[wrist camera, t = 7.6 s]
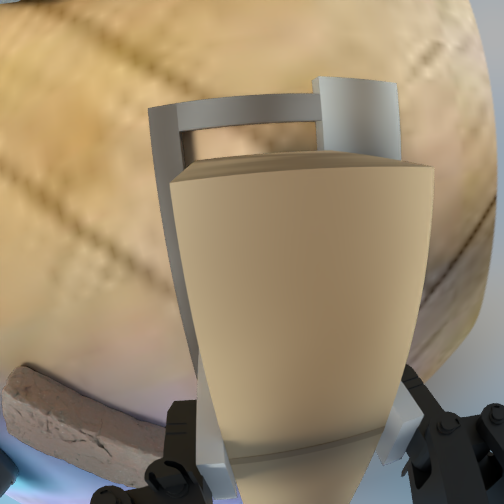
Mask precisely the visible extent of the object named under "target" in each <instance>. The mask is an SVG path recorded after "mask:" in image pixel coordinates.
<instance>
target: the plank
mask: <svg viewBox="0 0 504 504" xmlns="http://www.w3.org/2000/svg"><path fill="white" fill-rule="evenodd" d="M169 184H170V191H171V198H172V205H173V212H174V219H175V225H176V232H177V238H178V244H179V250H180V256H181V261H182V267H183V272H184V278H185V283H186V288H187V293H188V298H189V303H190V308H191V313H192V318H193V323H194V327H195V332H196V336H197V341H198V345H199V350H200V354H201V358H202V363H203V367H204V371H205V375H206V379H207V383H208V387H209V391H210V395H211V398H212V402H213V406H214V410H215V413H216V417H217V421H218V424H219V428H220V431H221V435H222V438H223V442H224V445H225V448H226V452H227V455H228V459H229V462H230V465H231V468H232V471H233V474H234V477H235V480H236V483H237V487H238V490H239V492H240V495H241V498H242V501H243V504H349V503H350V501H351V499H352V498H353V496H354V494H355V492H356V490H357V488H358V486H359V484H360V482H361V480H362V478H363V476H364V474H365V471H366V469H367V467H368V465H369V463H370V461H371V458H372V456H373V454H374V452H375V449H376V447H377V445H378V442H379V440H380V437H381V435H382V433H383V431H384V428H385V425H386V422H387V419H388V417H389V414H390V411H391V408H392V406H393V403H394V400H395V397H396V394H397V391H398V388H399V384H400V381H401V378H402V375H403V371H404V368H405V364H406V361H407V357H408V354H409V350H410V346H411V342H412V338H413V334H414V330H415V325H416V321H417V316H418V311H419V307H420V301H421V296H422V291H423V285H424V279H425V273H426V266H427V259H428V251H429V243H430V234H431V223H432V211H433V194H434V167H431V166H426V165H422V164H417V163H411V162H406V161H401V160H395V159H389V158H383V157H377V156H370V155H364V154H357V153H349V152H341V151H333V150H325V151H299V152H281V153H266V154H254V155H242V156H232V157H222V158H213V159H205V160H197V161H194V162H193V163H192V164H191V165H189V166H188V167H187V168H186V169H185V170H184V171H182V172H181V173H180V174H179V175H178V176H177V177H176V178H174V179H173V180H172V181H171V182H170V183H169Z"/></svg>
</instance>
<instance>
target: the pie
mask: <svg viewBox="0 0 504 504" xmlns="http://www.w3.org/2000/svg"><path fill="white" fill-rule="evenodd" d="M18 1H20V0H0V4H3V3H11V2H18Z"/></svg>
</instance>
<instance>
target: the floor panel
mask: <svg viewBox="0 0 504 504" xmlns="http://www.w3.org/2000/svg"><path fill="white" fill-rule="evenodd" d="M312 87H313V94H265V95H247V96H234V97H223V98H213V99H205V100H197V101H189V102H182V103H176V104H169V105H163V106H158V107H152V108H148V116H149V126H150V136H151V145H152V154H153V162H154V170H155V177H156V184H157V191H158V198H159V205H160V211H161V217H162V223H163V229H164V235H165V241H166V246H167V251H168V257H169V262H170V267H171V272H172V277H173V282H174V287H175V291H176V296H177V301H178V305H179V309H180V314H181V318H182V322H183V327H184V331H185V335H186V339H187V343H188V347H189V351H190V355H191V359H192V362H193V366H194V370H195V373H196V377H197V381H198V357H199V345H198V341H197V336H196V332H195V327H194V323H193V318H192V313H191V308H190V303H189V298H188V293H187V288H186V283H185V278H184V272H183V267H182V261H181V256H180V250H179V244H178V238H177V232H176V225H175V219H174V212H173V205H172V198H171V191H170V184H169V183H170V182H171V181H172V180H173V179H174V178H176V177H177V176H178V175H179V174H180V173H181V172H182V171H184V170H185V169H186V168H185V159H184V150H183V141H182V132H186V131H193V130H201V129H209V128H217V127H227V126H238V125H249V124H264V123H282V122H316V135H317V151H325V150H333V151H341V152H349V153H357V154H364V155H370V156H377V157H383V158H389V159H395V160H401V138H400V119H399V105H398V94H397V84H396V83H391V82H383V81H375V80H365V79H354V78H340V77H320V76H318V77H317V78H315V79H313V80H312Z"/></svg>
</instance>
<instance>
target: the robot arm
mask: <svg viewBox="0 0 504 504" xmlns="http://www.w3.org/2000/svg"><path fill="white" fill-rule="evenodd" d="M165 434H166V435H165V440H164V450H163V458H160V459H158V460H155V461H154V462H152V463H151V464H150V465H149V466H148V467H147V469H146V471H145V476H144V480H145V482H146V483H147V484H148V485H147V486H145V487H141V488H137V489H132V490H127V491H124V490H123V489H121V488H119V487H116V486H104V487H102V488H99V489H98V490H97V491H96V492H95V493H94V494H93V496H92V498H91V502H90V504H213V501H212V496H213V498H214V500H218V499H233V498H237V492H236V482H235V477H234V474H233V471H232V468H231V465H230V462H229V459H228V455H227V452H226V448H225V445H224V442H223V438H222V435H221V431H220V428H219V424H218V421H217V417H216V413H215V410H214V406H213V402H212V398H211V395H210V391H209V387H208V383H207V379H206V375H205V371H204V367H203V363H202V358H201V354H200V350H199V357H198V381H197V400H185V401H174V402H173V404H172V405H171V407H170V409H169V410H168V412H167V421H166V430H165ZM375 450H376V452H377V455H378V456H379V459H380V461H381V463H382V465H383V466H384V465H387V464H389V463H392V462H395V461H397V460H400V459H402V457H403V455H404V453H405V452H407V454H408V456H409V457H410V458H409V460H408V462H407V463H406V465H405V467H404V468H403V470H402V475H401V476H405V474H406V473H407V471H408V475H409V480H410V486H411V493H412V500H413V504H504V406H503V405H501V404H498V403H493V404H489V405H487V406H486V407H485V408H484V409H483V411H482V413H481V414H480V415H475V416H469V417H459V416H458V415H456V414H455V413H452V412H445V411H444V410H443V409H442V408H441V406H440V405H439V404H438V402H437V401H436V399H435V398H434V397H433V395H432V394H431V393H430V391H429V390H428V388H427V387H426V386H425V385H424V384H423V382H422V380H421V379H420V378H418V375H417V374H416V372H415V371H414V370H413V369H412V367H410V366H409V365H407V364H405V368H404V371H403V375H402V378H401V381H400V384H399V388H398V391H397V394H396V397H395V400H394V403H393V406H392V408H391V411H390V414H389V417H388V419H387V422H386V425H385V428H384V431H383V433H382V435H381V437H380V440H379V442H378V445H377V447H376V449H375ZM490 450H491V451H492V452H493V453H491V452H490ZM17 476H18V469H17V467H16V466H15V464H14V463H13V462H12V461H11V460H10V459H9V458H8V456H7V455H5V454H4V453H3V452H2V451H1V450H0V497H1V496H2V495H3V494H4V493H5V492H6V491H7V490H8V488H9V487H10V485H12V484H14V483H15V481H16V478H17Z"/></svg>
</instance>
